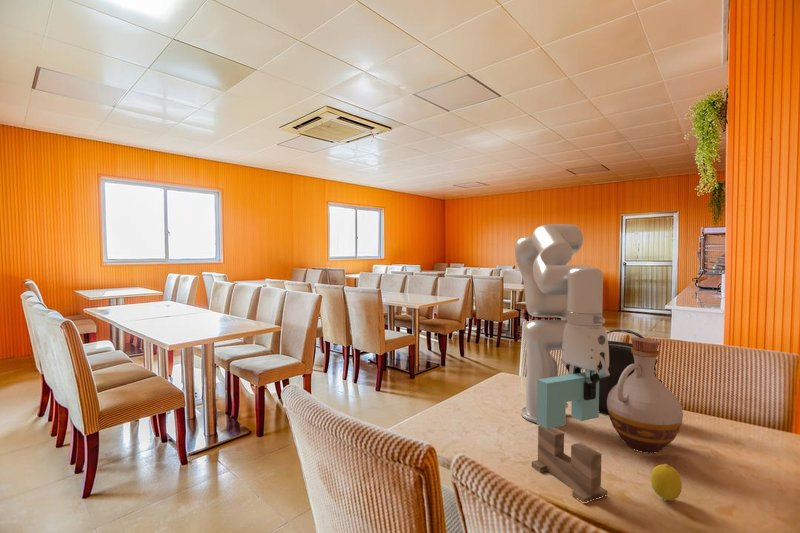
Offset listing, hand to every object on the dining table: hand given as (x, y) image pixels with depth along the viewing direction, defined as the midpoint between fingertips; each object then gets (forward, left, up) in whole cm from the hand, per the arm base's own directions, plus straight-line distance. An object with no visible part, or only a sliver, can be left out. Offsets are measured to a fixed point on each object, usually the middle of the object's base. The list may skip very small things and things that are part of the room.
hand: (583, 395), depth 94 cm
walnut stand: (+4, 0, -20) cm, 20 cm away
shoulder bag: (-43, -22, -20) cm, 52 cm away
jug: (-27, -4, -20) cm, 34 cm away
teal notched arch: (+5, 0, -5) cm, 7 cm away
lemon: (-10, +14, -20) cm, 26 cm away
